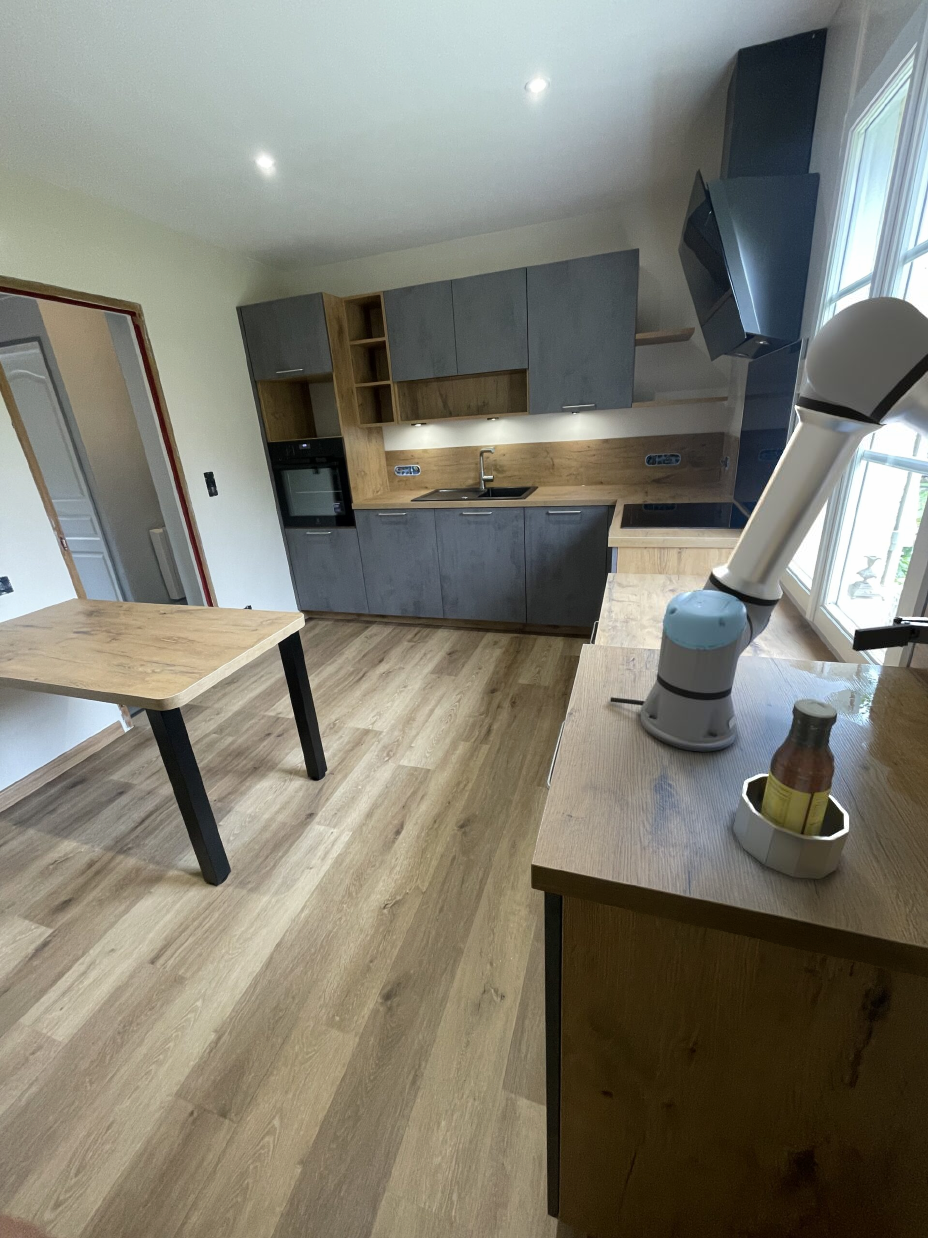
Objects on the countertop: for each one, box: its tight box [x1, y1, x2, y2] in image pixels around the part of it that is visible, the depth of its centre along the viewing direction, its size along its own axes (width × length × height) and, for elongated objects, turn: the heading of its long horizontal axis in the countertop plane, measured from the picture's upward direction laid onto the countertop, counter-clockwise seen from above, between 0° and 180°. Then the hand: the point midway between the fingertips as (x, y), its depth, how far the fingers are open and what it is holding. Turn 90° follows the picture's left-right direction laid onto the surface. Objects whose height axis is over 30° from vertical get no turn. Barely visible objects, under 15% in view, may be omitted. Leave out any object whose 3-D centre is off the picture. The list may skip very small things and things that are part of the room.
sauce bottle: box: [759, 698, 838, 836], centre depth 58 cm, size 6×6×20 cm
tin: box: [732, 773, 850, 880], centre depth 61 cm, size 11×11×6 cm
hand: (903, 660), depth 55 cm, fingers open, 13 cm apart
